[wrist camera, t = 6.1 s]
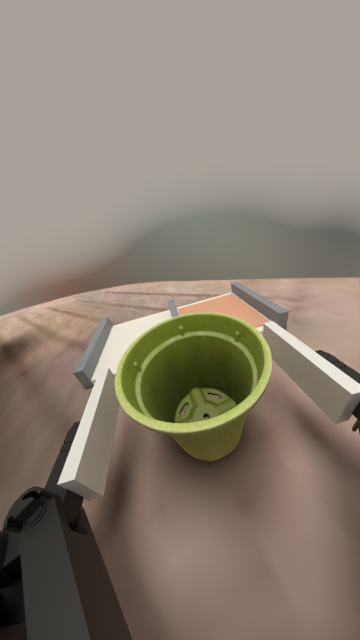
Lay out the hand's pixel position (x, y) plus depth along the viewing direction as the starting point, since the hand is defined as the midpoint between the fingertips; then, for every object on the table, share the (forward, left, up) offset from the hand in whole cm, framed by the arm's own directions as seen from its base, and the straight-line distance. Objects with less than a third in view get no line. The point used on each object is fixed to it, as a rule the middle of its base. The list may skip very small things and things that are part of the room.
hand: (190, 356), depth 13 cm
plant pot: (-1, -2, -6) cm, 6 cm away
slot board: (+6, +11, -6) cm, 14 cm away
